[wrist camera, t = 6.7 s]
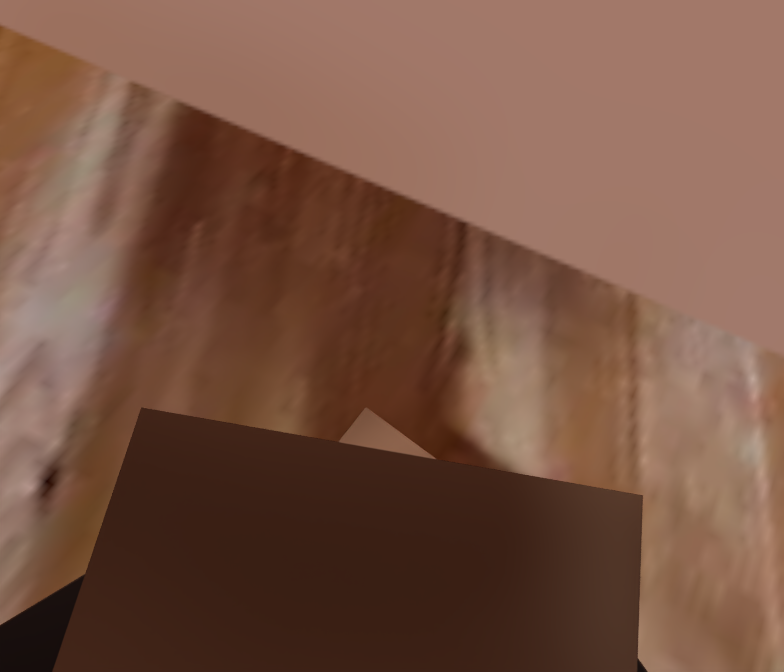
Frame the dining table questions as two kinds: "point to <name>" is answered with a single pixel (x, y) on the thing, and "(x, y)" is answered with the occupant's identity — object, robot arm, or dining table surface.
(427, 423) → the dining table surface
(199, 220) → the dining table surface
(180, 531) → the walnut pillar
